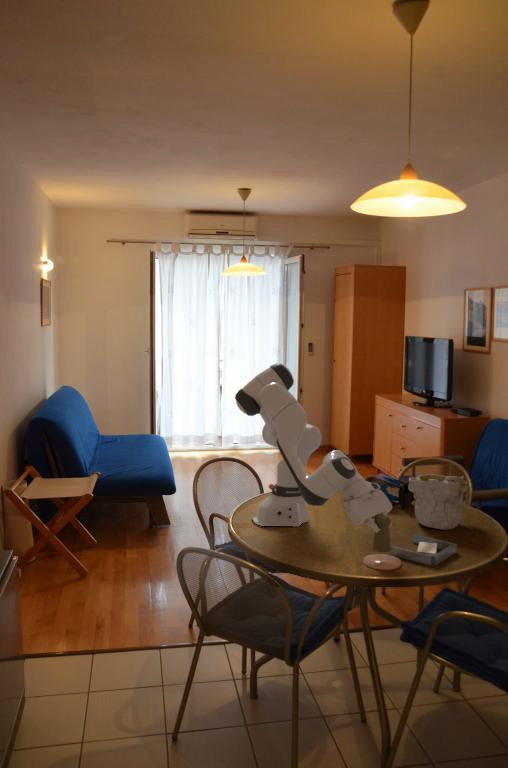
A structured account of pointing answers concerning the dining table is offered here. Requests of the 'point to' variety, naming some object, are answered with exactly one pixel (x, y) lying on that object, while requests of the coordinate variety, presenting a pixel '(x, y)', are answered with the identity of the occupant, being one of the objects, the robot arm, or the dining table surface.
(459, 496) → the ceramic vessel
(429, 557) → the grey u-shaped frame
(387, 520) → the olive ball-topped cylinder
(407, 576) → the dining table surface
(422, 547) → the offcut stack
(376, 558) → the pink round disc
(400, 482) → the lantern
